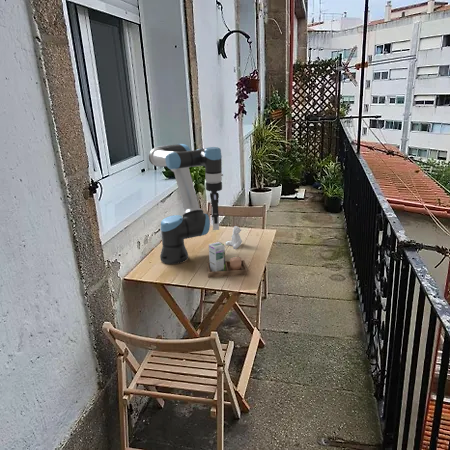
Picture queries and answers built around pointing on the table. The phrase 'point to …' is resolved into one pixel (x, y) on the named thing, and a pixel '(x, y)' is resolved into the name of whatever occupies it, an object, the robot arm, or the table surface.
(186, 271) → the table surface
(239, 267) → the tan rounded block
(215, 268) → the syrup box
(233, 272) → the caddy
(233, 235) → the sitting furry creature
